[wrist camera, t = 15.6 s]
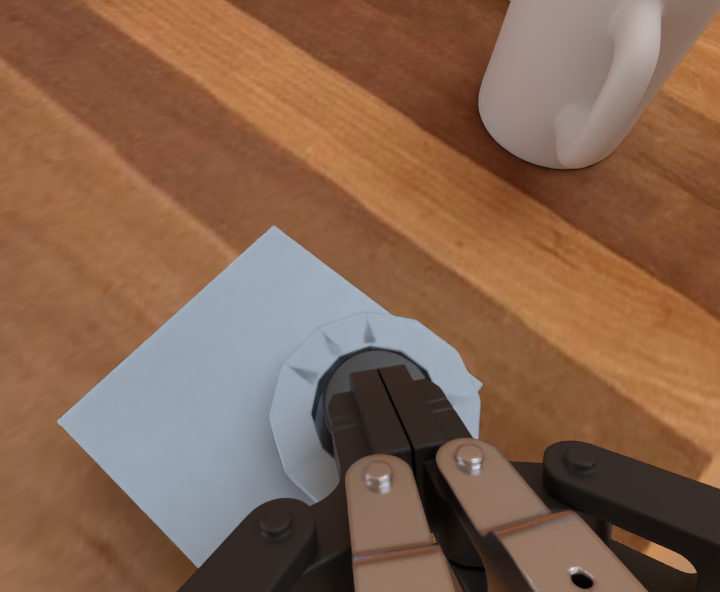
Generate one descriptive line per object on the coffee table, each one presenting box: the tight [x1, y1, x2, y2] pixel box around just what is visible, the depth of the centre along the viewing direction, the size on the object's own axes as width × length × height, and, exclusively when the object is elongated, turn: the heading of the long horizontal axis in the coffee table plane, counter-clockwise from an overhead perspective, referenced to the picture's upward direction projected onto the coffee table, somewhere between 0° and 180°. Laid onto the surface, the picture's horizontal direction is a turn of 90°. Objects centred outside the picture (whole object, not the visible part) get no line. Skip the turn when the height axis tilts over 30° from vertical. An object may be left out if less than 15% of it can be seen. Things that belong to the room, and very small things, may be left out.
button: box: [322, 350, 427, 448], centre depth 15 cm, size 3×3×2 cm
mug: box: [478, 0, 720, 169], centre depth 22 cm, size 12×8×11 cm
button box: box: [57, 225, 483, 568], centre depth 17 cm, size 11×10×6 cm
